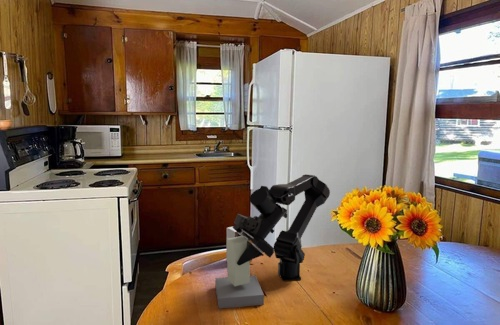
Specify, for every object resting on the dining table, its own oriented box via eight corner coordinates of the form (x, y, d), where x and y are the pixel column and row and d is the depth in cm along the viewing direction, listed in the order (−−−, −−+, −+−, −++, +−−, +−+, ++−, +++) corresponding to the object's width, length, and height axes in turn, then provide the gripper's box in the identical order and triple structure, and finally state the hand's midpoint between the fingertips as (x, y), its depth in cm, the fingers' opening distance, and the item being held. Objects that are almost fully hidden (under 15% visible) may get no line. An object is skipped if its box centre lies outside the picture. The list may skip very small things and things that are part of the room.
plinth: (255, 284, 114) (255, 275, 113) (263, 304, 101) (263, 294, 100) (215, 287, 111) (215, 278, 111) (218, 308, 99) (218, 298, 98)
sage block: (242, 276, 109) (241, 235, 107) (249, 282, 105) (249, 240, 103) (227, 279, 107) (227, 238, 105) (234, 286, 102) (234, 243, 101)
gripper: (238, 198, 113) (206, 236, 110) (264, 212, 96) (227, 257, 93) (259, 218, 117) (229, 255, 114) (288, 235, 100) (254, 279, 97)
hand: (234, 261), depth 104 cm, fingers closed on sage block, 5 cm apart
